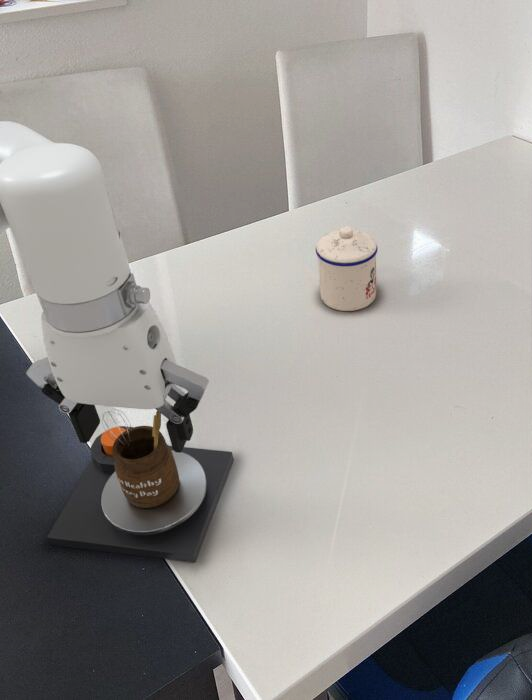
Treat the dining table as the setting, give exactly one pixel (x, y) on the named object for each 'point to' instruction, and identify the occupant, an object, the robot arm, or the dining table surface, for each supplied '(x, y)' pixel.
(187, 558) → the scale
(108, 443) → the tare button
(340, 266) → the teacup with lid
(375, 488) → the dining table surface
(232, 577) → the dining table surface
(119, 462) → the utensil holder
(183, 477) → the brushed metal disc
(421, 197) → the dining table surface
